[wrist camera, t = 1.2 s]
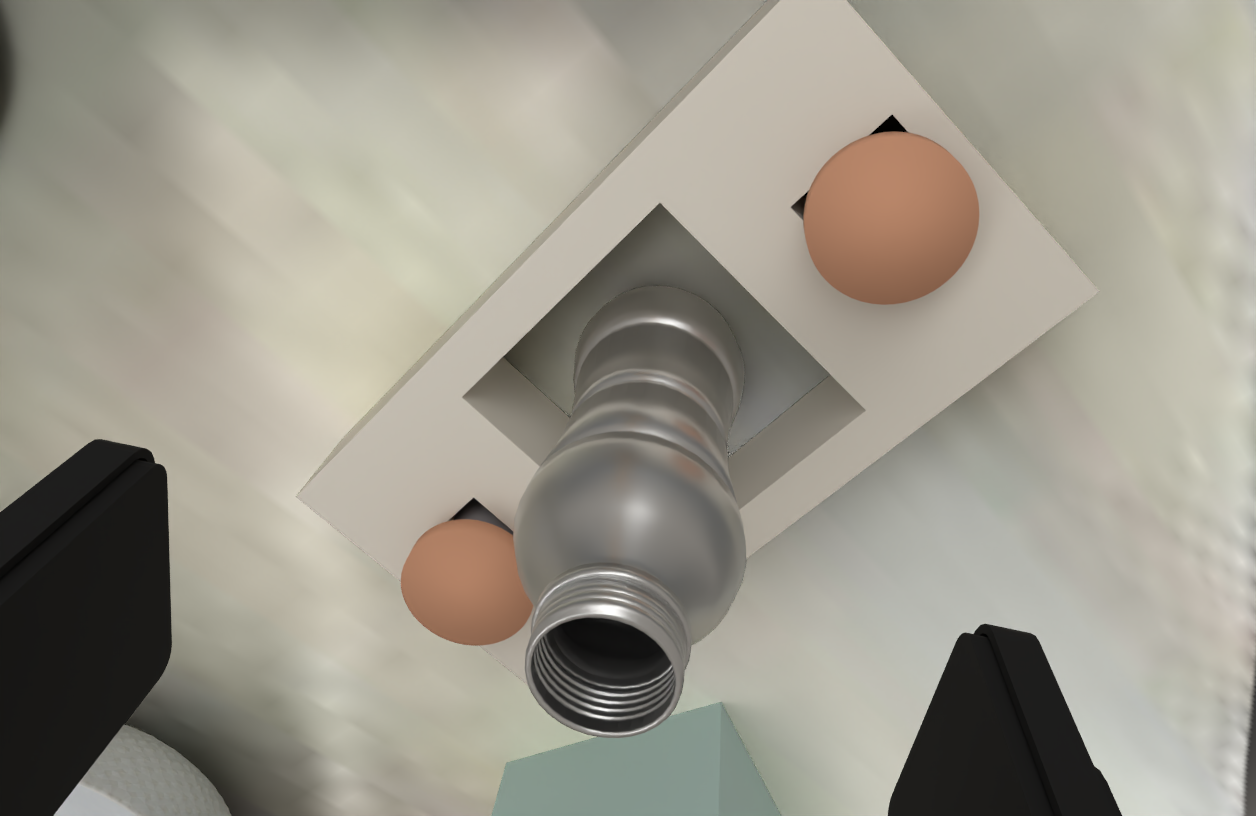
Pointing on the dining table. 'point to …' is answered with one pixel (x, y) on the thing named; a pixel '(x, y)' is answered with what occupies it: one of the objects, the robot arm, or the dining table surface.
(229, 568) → the dining table surface
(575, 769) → the right angle wall
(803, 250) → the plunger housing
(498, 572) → the chicken egg
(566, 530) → the gray metal bottle
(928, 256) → the brown egg
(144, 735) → the cereal bowl
